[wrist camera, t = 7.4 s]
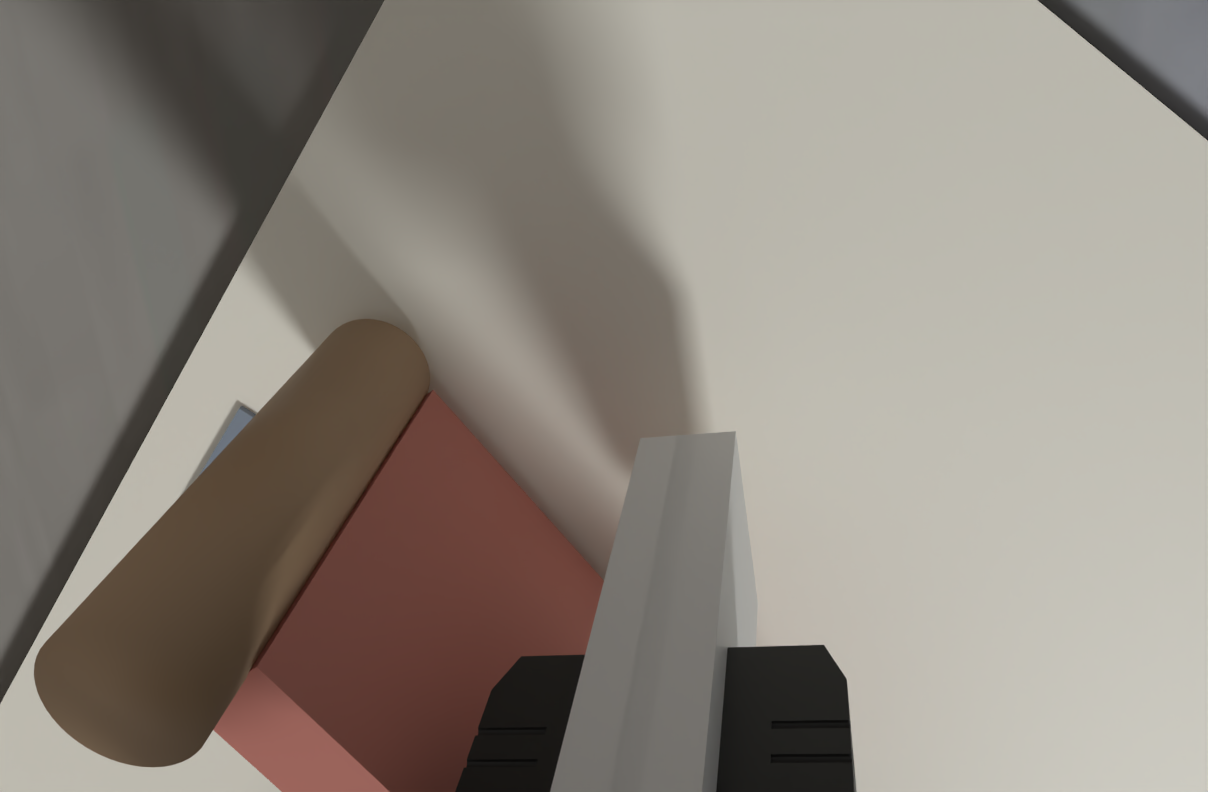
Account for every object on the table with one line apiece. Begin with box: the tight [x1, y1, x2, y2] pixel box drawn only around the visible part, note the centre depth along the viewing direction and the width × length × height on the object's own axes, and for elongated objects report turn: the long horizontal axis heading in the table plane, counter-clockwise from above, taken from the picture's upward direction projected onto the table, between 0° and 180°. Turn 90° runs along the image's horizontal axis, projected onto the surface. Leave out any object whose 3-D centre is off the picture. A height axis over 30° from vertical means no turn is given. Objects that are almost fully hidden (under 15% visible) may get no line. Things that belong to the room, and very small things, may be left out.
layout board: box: [0, 0, 1208, 792], centre depth 18 cm, size 27×18×1 cm, turn 145°
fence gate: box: [34, 319, 604, 792], centre depth 13 cm, size 10×2×7 cm, turn 39°
